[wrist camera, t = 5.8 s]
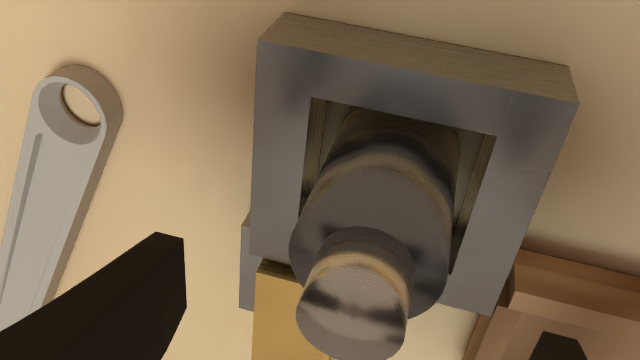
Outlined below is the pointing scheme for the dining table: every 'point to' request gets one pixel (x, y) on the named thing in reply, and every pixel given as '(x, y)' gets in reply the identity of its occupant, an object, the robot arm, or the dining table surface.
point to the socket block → (414, 102)
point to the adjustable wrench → (53, 188)
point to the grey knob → (375, 234)
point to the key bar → (279, 316)
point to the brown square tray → (560, 311)
